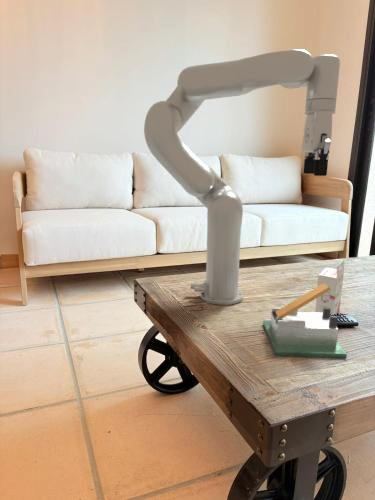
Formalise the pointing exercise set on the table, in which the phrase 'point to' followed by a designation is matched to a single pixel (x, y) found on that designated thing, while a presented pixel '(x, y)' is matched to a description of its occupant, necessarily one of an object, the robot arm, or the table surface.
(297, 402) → the table surface
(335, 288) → the ink cartridge box
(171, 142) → the robot arm
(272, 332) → the board
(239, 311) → the table surface
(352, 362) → the table surface
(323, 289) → the orange wooden bar
